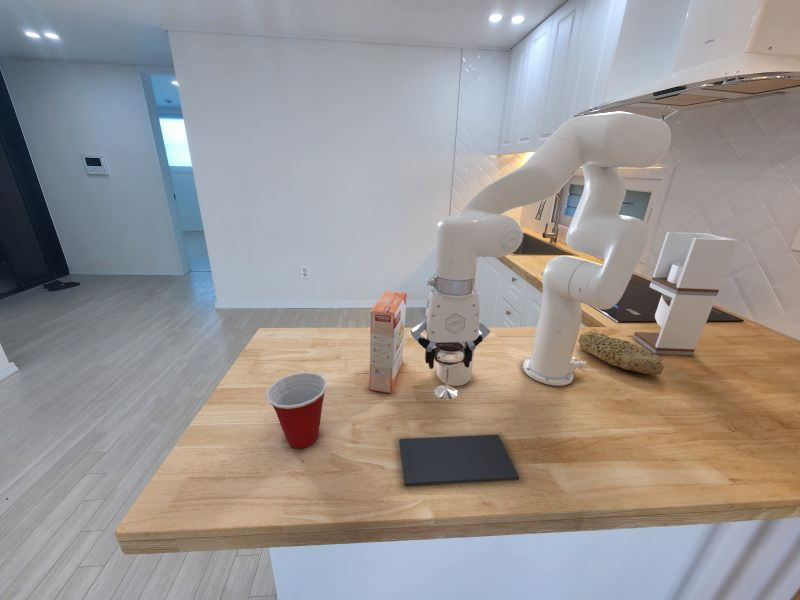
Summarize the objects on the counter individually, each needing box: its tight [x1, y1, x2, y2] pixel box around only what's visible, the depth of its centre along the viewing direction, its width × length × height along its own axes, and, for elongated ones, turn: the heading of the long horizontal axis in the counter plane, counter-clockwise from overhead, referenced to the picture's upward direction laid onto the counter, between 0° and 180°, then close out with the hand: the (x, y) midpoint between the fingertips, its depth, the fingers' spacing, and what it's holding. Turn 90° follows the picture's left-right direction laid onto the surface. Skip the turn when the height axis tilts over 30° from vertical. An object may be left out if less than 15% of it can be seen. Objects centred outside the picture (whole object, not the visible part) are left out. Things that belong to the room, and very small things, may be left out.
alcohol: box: [436, 342, 476, 387], centre depth 81 cm, size 9×9×30 cm
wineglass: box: [433, 342, 466, 401], centre depth 70 cm, size 7×7×12 cm
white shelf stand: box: [632, 231, 740, 356], centre depth 100 cm, size 11×11×35 cm
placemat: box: [398, 434, 520, 487], centre depth 62 cm, size 20×10×1 cm, turn 95°
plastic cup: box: [265, 371, 328, 450], centre depth 63 cm, size 11×11×12 cm
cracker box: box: [368, 290, 407, 394], centre depth 82 cm, size 14×6×21 cm, turn 168°
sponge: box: [578, 330, 665, 376], centre depth 95 cm, size 13×8×20 cm
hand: (448, 363), depth 70 cm, fingers closed on wineglass, 6 cm apart
